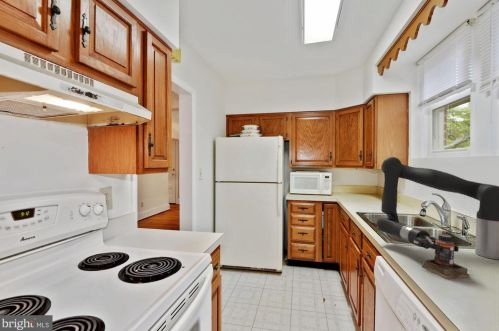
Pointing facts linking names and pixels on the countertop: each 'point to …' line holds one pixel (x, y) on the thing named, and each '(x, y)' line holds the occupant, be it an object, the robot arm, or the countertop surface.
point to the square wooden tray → (445, 269)
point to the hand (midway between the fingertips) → (450, 249)
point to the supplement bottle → (445, 250)
